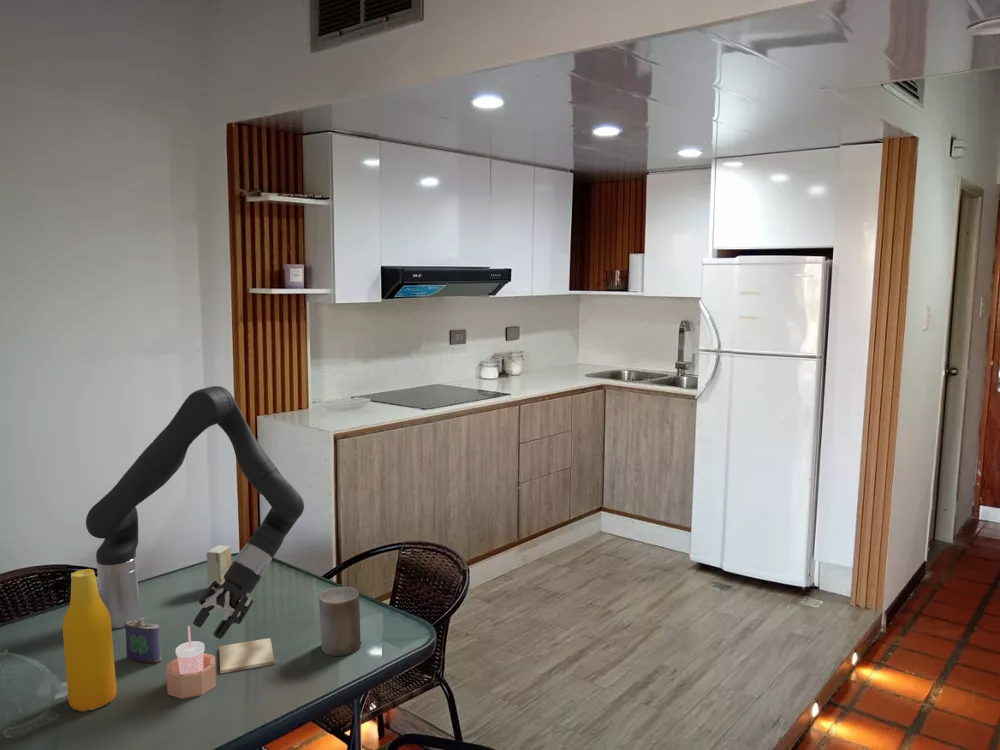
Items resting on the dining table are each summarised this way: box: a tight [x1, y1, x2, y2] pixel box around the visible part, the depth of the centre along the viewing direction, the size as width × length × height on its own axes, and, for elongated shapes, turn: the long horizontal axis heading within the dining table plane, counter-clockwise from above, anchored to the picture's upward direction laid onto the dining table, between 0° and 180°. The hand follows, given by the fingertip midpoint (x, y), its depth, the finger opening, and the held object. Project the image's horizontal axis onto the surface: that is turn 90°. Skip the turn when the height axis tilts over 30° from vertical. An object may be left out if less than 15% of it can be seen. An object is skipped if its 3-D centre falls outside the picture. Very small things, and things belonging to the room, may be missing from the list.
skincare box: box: [206, 544, 232, 589], centre depth 224 cm, size 6×4×12 cm
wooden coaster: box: [219, 637, 275, 674], centre depth 186 cm, size 12×12×1 cm
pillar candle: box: [318, 586, 362, 657], centre depth 190 cm, size 10×10×15 cm
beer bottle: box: [62, 568, 117, 711], centre depth 166 cm, size 9×9×29 cm
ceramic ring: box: [165, 652, 217, 699], centre depth 174 cm, size 10×10×5 cm
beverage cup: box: [175, 625, 206, 675], centre depth 173 cm, size 6×6×14 cm
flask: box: [124, 616, 162, 665], centre depth 184 cm, size 9×3×11 cm, turn 74°
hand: (206, 631), depth 175 cm, fingers open, 8 cm apart
